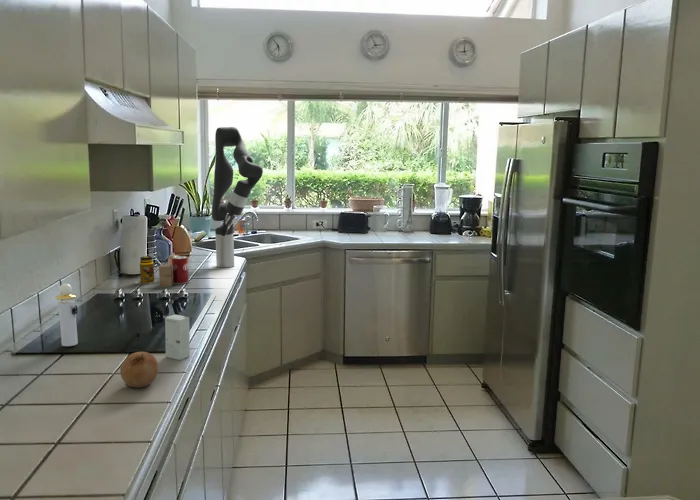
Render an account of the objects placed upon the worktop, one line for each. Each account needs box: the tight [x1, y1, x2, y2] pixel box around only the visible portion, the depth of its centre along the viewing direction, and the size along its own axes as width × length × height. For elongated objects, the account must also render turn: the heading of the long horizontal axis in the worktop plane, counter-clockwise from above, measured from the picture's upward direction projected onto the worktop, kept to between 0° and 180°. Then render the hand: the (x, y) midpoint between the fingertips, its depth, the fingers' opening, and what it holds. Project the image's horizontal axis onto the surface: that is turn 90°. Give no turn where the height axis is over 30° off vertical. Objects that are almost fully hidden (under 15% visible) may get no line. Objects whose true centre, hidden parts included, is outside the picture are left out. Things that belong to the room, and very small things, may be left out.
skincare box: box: [164, 314, 191, 361], centre depth 178 cm, size 6×4×12 cm
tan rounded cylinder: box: [167, 254, 180, 265], centre depth 286 cm, size 6×6×11 cm
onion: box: [119, 351, 159, 389], centre depth 157 cm, size 10×9×10 cm
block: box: [158, 264, 174, 288], centre depth 272 cm, size 5×5×9 cm
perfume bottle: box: [55, 283, 79, 347], centre depth 187 cm, size 6×6×20 cm
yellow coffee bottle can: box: [135, 255, 158, 285], centre depth 279 cm, size 7×8×12 cm
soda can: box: [171, 255, 190, 285], centre depth 278 cm, size 7×7×12 cm
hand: (222, 235), depth 281 cm, fingers closed
